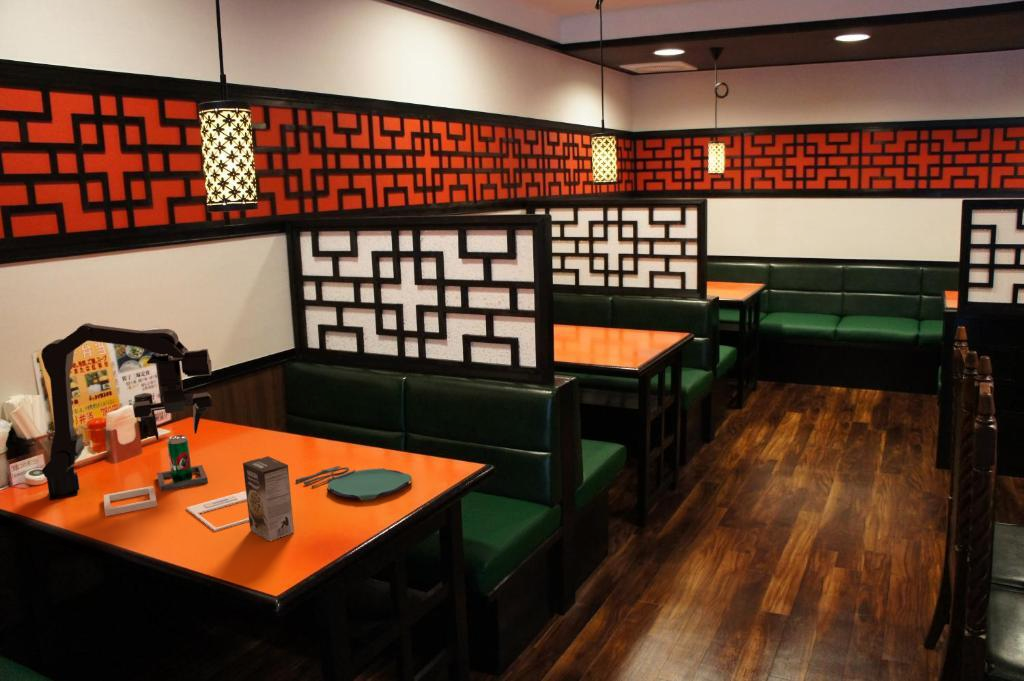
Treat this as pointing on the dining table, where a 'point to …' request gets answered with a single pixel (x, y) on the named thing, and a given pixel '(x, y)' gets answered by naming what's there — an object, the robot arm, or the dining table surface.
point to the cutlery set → (362, 482)
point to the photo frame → (218, 504)
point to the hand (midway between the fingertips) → (176, 436)
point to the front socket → (132, 506)
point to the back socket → (183, 483)
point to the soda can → (179, 458)
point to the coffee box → (268, 498)
